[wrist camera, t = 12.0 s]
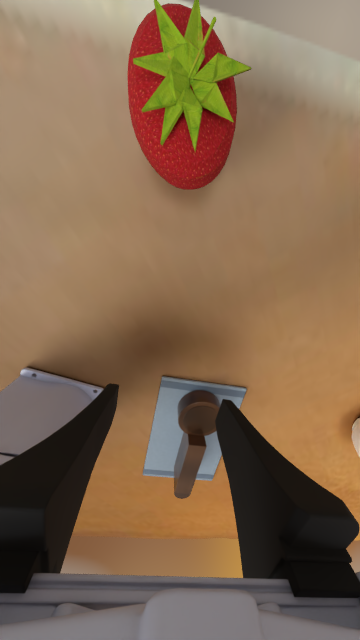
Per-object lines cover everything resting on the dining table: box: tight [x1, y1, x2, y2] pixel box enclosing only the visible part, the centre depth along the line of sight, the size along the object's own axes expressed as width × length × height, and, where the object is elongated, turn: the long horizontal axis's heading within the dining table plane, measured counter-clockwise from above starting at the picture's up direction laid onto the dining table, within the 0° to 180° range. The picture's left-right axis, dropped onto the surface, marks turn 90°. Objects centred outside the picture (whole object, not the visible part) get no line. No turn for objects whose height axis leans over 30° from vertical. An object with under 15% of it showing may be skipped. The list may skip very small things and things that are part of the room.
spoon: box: [174, 390, 220, 499], centre depth 24 cm, size 15×6×3 cm, turn 168°
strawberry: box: [128, 0, 251, 189], centre depth 11 cm, size 6×8×10 cm
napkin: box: [143, 376, 247, 481], centre depth 26 cm, size 11×18×1 cm, turn 169°
